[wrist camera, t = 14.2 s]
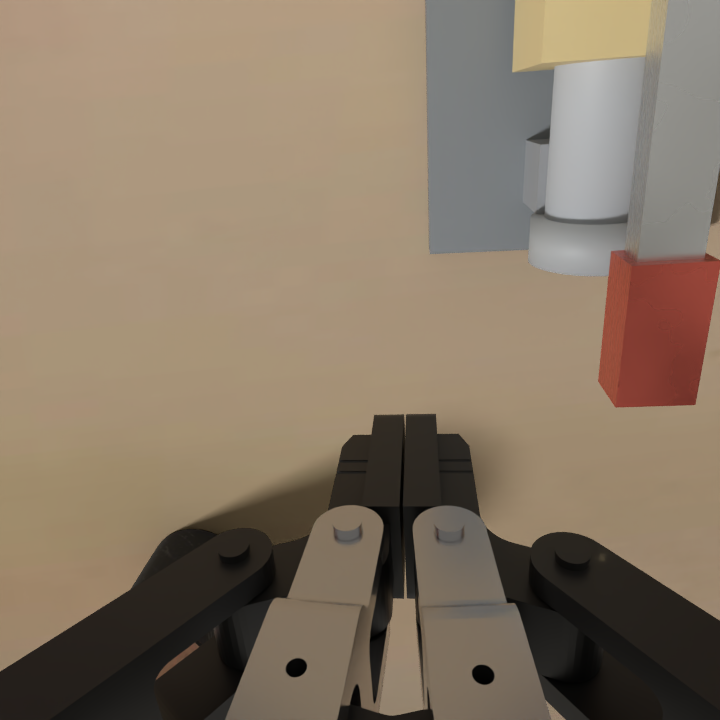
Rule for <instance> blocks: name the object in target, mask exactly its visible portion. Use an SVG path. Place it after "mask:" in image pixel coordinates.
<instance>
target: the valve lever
mask: <svg viewBox="0 0 720 720" xmlns="http://www.w3.org/2000/svg"><path fill="white" fill-rule="evenodd" d="M719 169H720V0H652V1H651V10H650V19H649V28H648V38H647V47H646V56H645V65H644V75H643V84H642V93H641V102H640V112H639V121H638V130H637V140H636V149H635V158H634V167H633V177H632V186H631V195H630V204H629V214H628V223H627V232H626V242H625V250H617V251H611V257H610V267H609V277H608V287H607V298H606V308H605V318H604V328H603V338H602V349H601V359H600V369H599V379H598V382H599V383H600V385H601V386H602V388H603V389H604V391H605V392H606V394H607V395H608V397H609V398H610V400H611V401H612V403H613V404H614V406H615V407H644V406H676V405H695V404H696V398H697V392H698V387H699V381H700V376H701V370H702V365H703V359H704V354H705V348H706V342H707V337H708V331H709V326H710V320H711V315H712V309H713V304H714V298H715V292H716V287H717V281H718V276H719V270H720V260H718V259H716V258H714V257H713V256H711V255H709V254H707V253H705V252H706V246H707V241H708V235H709V229H710V223H711V217H712V211H713V205H714V199H715V193H716V187H717V181H718V175H719Z"/></svg>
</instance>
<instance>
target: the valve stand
mask: <svg viewBox="0 0 720 720" xmlns="http://www.w3.org/2000/svg"><path fill="white" fill-rule="evenodd" d="M651 1H652V0H425V2H426V67H427V133H428V199H429V250H430V254H440V253H463V252H486V251H508V250H529V252H528V262H529V263H530V264H531V265H532V266H534V267H536V268H539V269H542V270H545V271H549V272H554V273H559V274H567V275H577V276H609V267H610V257H611V251H617V250H625V242H626V232H627V223H628V214H629V204H630V195H631V186H632V177H633V167H634V158H635V149H636V140H637V130H638V121H639V112H640V102H641V93H642V84H643V75H644V65H645V56H646V47H647V38H648V28H649V19H650V10H651Z"/></svg>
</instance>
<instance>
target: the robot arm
mask: <svg viewBox="0 0 720 720" xmlns="http://www.w3.org/2000/svg"><path fill="white" fill-rule="evenodd" d="M405 562H406V584H407V598H412V599H415V604H416V630H417V644H418V655H419V667H420V678H421V690H422V701H423V710H420V711H415V712H410V713H406V714H401V715H396V716H388V715H383V714H380V713H379V709H380V702H381V694H382V687H383V680H384V673H385V666H386V659H387V652H388V645H389V638H390V620H391V617H392V607H393V598H403V599H404V576H405ZM212 629H213V630H214V634H215V635H214V636H213V637H212V638H210V639H209V640H208V641H206V642H205V643H204V644H202V645H201V646H200V647H198V648H197V649H196V650H195V651H193V652H192V653H191V654H189V655H188V656H187V657H185V658H184V659H183V660H181V661H180V662H179V663H177V664H176V665H175V666H174V667H172V668H171V669H170V670H168V671H167V672H166V673H164V674H163V675H162V676H160V677H159V678H158V679H157V680H156V678H157V676H158V674H159V673H160V671H161V670H162V669H163V668H164V667H165V666H166V664H168V663H169V662H170V661H171V660H173V659H174V658H175V657H177V656H178V655H179V654H181V653H182V652H183V651H185V650H186V649H187V648H189V647H190V646H191V645H192V644H194V643H195V642H196V641H198V640H199V639H200V638H202V637H203V636H204V635H206V634H207V633H208V632H210V631H211V630H212ZM546 701H547V702H548V703H549V704H550V705H551V706H552V707H553V708H555V709H556V710H557V711H558V712H559V713H560V714H561V715H562V716H563V717H564V718H565V719H566V720H720V621H719V620H718V619H716V618H715V617H713V616H711V615H710V614H708V613H707V612H705V611H704V610H702V609H701V608H699V607H697V606H696V605H694V604H693V603H691V602H690V601H688V600H686V599H685V598H683V597H682V596H680V595H679V594H677V593H676V592H674V591H672V590H671V589H669V588H668V587H666V586H665V585H663V584H661V583H660V582H658V581H657V580H655V579H654V578H652V577H651V576H649V575H647V574H646V573H644V572H643V571H641V570H640V569H638V568H636V567H635V566H633V565H632V564H630V563H629V562H627V561H626V560H624V559H622V558H621V557H619V556H618V555H616V554H615V553H613V552H611V551H610V550H608V549H607V548H605V547H604V546H602V545H601V544H599V543H597V542H596V541H594V540H592V539H590V538H588V537H585V536H582V535H579V534H575V533H568V532H556V533H550V534H547V535H544V536H542V537H540V538H539V539H537V540H536V541H535V542H534V544H533V545H532V547H527V546H523V545H519V544H515V543H512V542H508V541H506V540H504V539H501V538H500V537H498V536H496V535H495V534H493V533H492V532H491V531H489V530H488V529H487V528H486V526H485V524H484V522H483V521H482V519H481V517H480V513H479V507H478V500H477V494H476V487H475V481H474V474H473V468H472V462H471V455H470V449H469V445H468V444H467V443H466V442H465V441H464V440H463V439H462V437H461V436H460V435H459V434H437V426H436V414H406V435H405V423H404V415H374V421H373V428H372V435H353V436H352V437H351V438H350V439H349V440H348V441H347V442H346V443H345V444H344V445H343V447H342V450H341V455H340V459H339V464H338V468H337V474H336V477H335V481H334V486H333V490H332V495H331V499H330V504H329V508H328V511H327V512H325V513H324V514H322V515H321V516H320V517H319V518H318V519H317V520H316V521H315V523H314V525H313V528H312V531H311V533H310V534H309V535H308V536H306V537H303V538H301V539H298V540H295V541H291V542H287V543H283V544H278V545H274V546H272V543H271V541H270V539H269V537H268V536H267V535H266V534H264V533H263V532H261V531H259V530H256V529H251V528H238V529H233V530H229V531H226V532H223V533H221V534H219V535H217V536H215V537H213V538H212V539H210V540H209V541H207V542H205V543H204V544H202V545H201V546H199V547H198V548H196V549H194V550H193V551H191V552H190V553H188V554H186V555H185V556H183V557H182V558H180V559H178V560H177V561H175V562H174V563H172V564H171V565H169V566H167V567H166V568H164V569H163V570H161V571H159V572H158V573H156V574H155V575H153V576H151V577H150V578H148V579H147V580H145V581H144V582H142V583H140V584H139V585H137V586H136V587H134V588H132V589H131V590H129V591H128V592H126V593H124V594H123V595H121V596H120V597H118V598H117V599H115V600H113V601H112V602H110V603H109V604H107V605H105V606H104V607H102V608H101V609H99V610H97V611H96V612H94V613H93V614H91V615H90V616H88V617H86V618H85V619H83V620H82V621H80V622H78V623H77V624H75V625H74V626H72V627H70V628H69V629H67V630H66V631H64V632H63V633H61V634H59V635H58V636H56V637H55V638H53V639H51V640H50V641H48V642H47V643H45V644H43V645H42V646H40V647H39V648H37V649H35V650H34V651H32V652H31V653H29V654H28V655H26V656H24V657H23V658H21V659H20V660H18V661H16V662H15V663H13V664H12V665H10V666H8V667H7V668H5V669H4V670H2V671H1V672H0V720H551V717H550V714H549V710H548V707H547V704H546Z"/></svg>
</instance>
